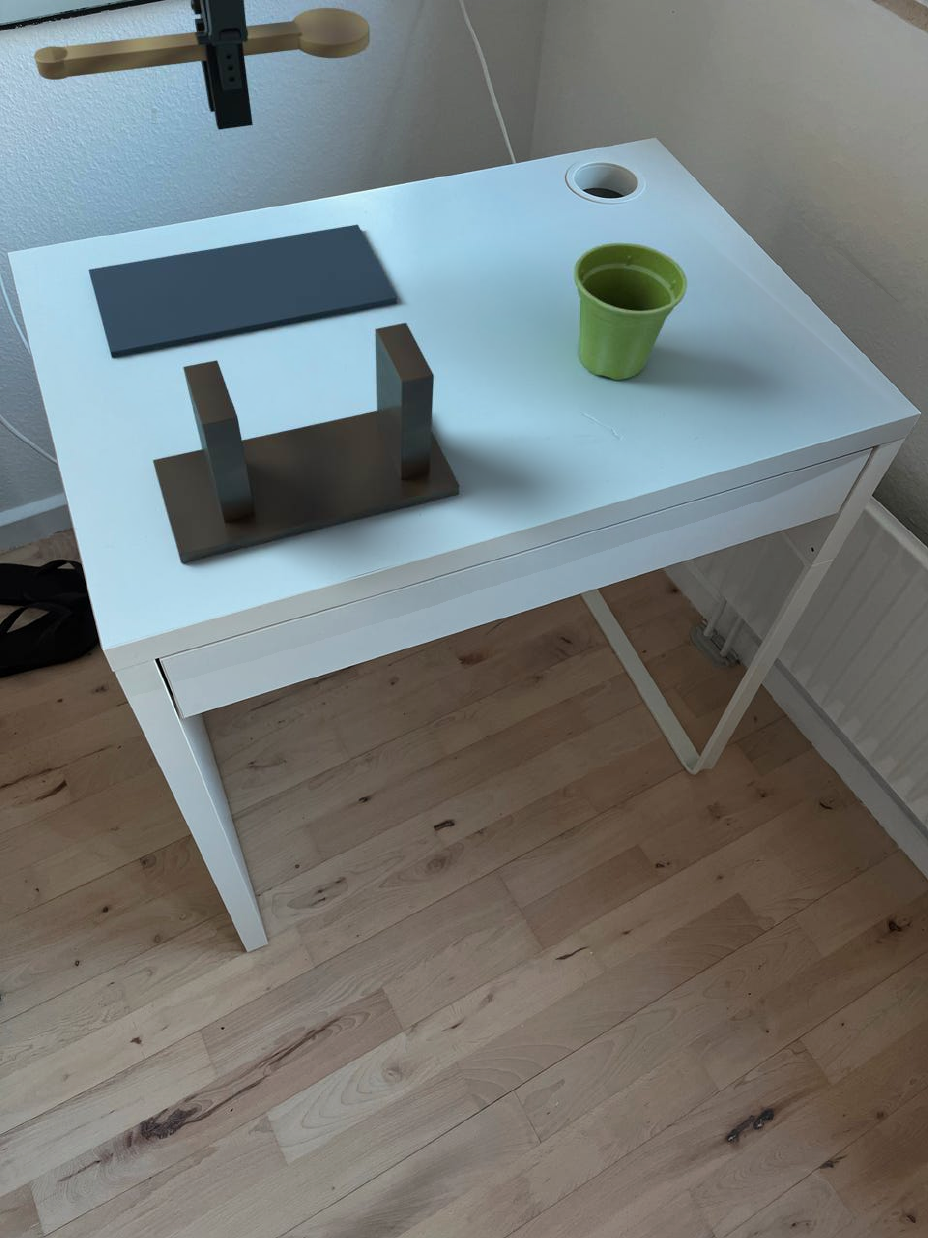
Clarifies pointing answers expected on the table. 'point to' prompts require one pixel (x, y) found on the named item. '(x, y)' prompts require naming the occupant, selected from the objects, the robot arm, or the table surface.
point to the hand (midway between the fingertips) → (230, 115)
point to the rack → (305, 461)
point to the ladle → (306, 32)
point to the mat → (237, 289)
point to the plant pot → (624, 305)
